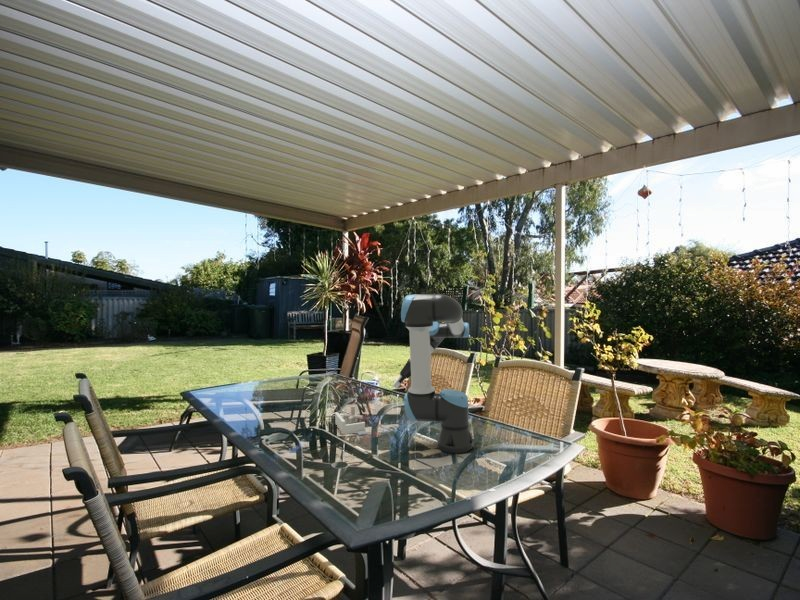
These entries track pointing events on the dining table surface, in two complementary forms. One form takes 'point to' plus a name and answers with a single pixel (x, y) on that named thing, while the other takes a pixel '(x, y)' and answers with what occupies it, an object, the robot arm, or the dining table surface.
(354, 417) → the pipe connector
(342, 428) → the dock
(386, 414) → the dining table surface
